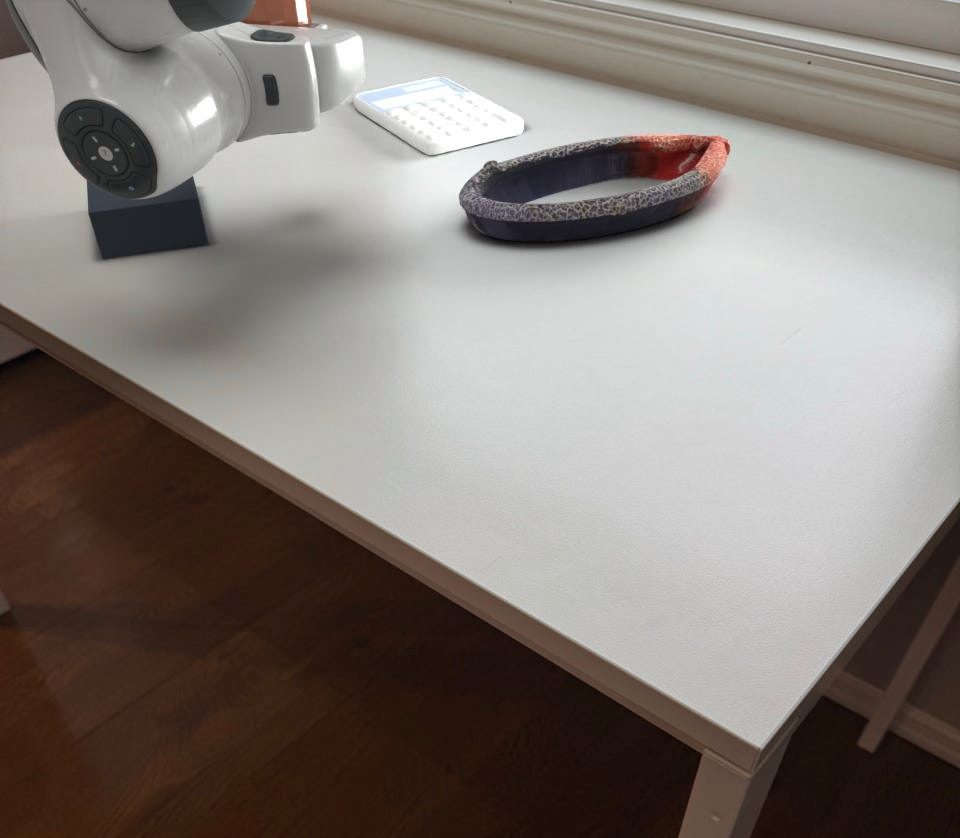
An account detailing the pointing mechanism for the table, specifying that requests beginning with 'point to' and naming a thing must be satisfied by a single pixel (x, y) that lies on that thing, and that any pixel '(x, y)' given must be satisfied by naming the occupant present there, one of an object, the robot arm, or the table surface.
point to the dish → (512, 183)
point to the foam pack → (146, 221)
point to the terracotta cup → (280, 13)
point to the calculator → (438, 115)
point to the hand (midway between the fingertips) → (279, 31)
